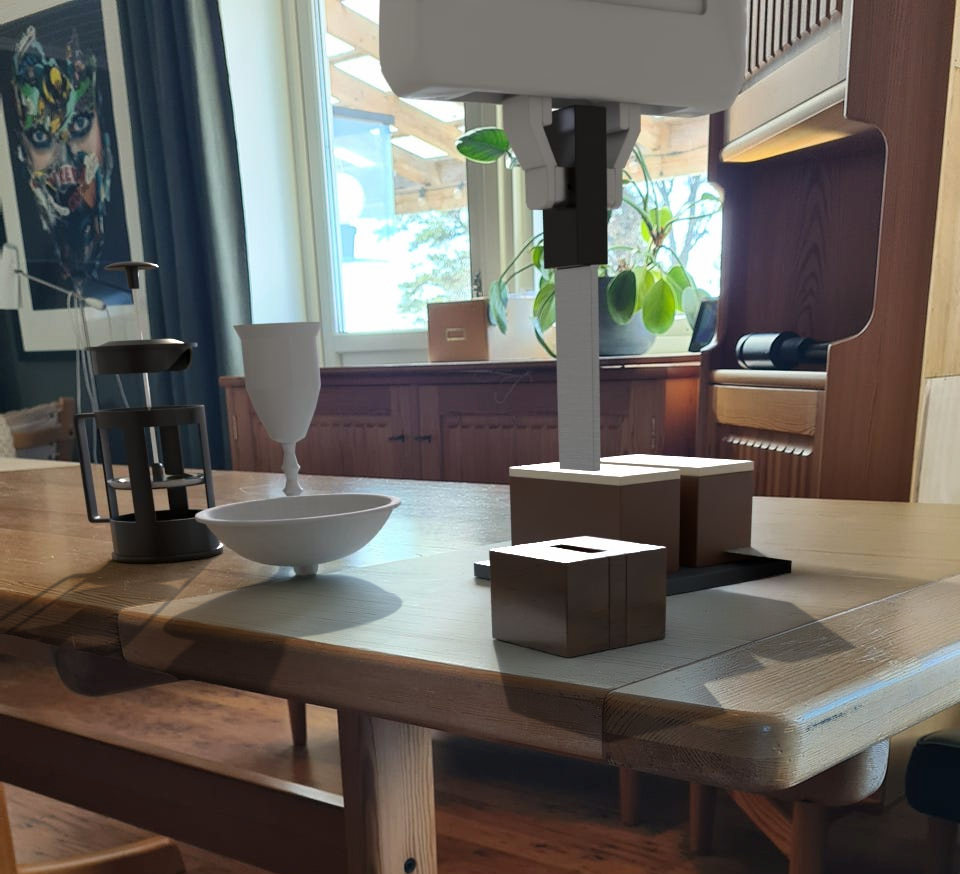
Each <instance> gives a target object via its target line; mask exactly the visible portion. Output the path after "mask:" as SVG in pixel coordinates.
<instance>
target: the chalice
mask: <svg viewBox="0 0 960 874" xmlns="http://www.w3.org/2000/svg"><path fill="white" fill-rule="evenodd" d="M322 324H323V321H295V322H294V321H293V322H292V321H291V322H290V321H289V322H269V323H267V322H266V323H265V322H264V323H249V324H247V323H246V324H235V325H233V326H232V327H233V329H234V331H235V332H236V334H237V336H238V337H239V339H240V345H241V353H242V354H241V355H242V365H243V374H244V384H245V390H246V392H247V395H248V398H249V400H250V402H251V404H252V406H253V409H254V412H255V414H256V415H257V417H258V419H259V420H260V422H261V424H262V426H263V428H264V429H265V431H266V433H267V434H268V436H269V438H270V439H271V440H273V441H275V442H277V443H280V444H281V447H282V451H283V461H282V462H283V463H282V465H281V467H280V469H281V470H282V472H283V473H284V477H285V479H286V481H285V487H283V489H282V493H284V495H285V497H288V496H301V495H302V493H303V491H304V489H303V488H302V487H301V485H300V483H299V480H298V477H299V471H300V470H301V466H300V464H299V463H298V459H297V456H296V444H297V443H298V442H299V441H301V440H303V439H304V438H306V437H307V434H308V431H309V427H310V425H311V422H312V419H313V417H314V414H315V411H316V408H317V404H318V399H319V397H320V391H321V386H322V383H321V381H322V380H321V370H320V358H319V345H318V336H319V332H320V329H321V327H322Z"/></svg>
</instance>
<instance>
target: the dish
mask: <svg viewBox="0 0 960 874" xmlns="http://www.w3.org/2000/svg"><path fill="white" fill-rule="evenodd" d="M401 505H402V500H401V498H400V497H397V496H395V495H389V494H381V493H364V492H363V493H360V492H359V493H358V492H357V493H356V492H355V493H353V492H352V493H350V492H349V493H348V492H346V493H321V494H320V493H319V494H318V493H317V494H300V496H288V497H287V496H279V497H269V498H268V497H267V498H261V499H253V500H246V501H239V502H233V503H227V504H222V505H216V507H213V508H209V509H208V508H205V509H206V510H203V511H201V512H199V513H197V514H196V515H195V520H196V521H197V522H200V523H203V524H206V525H207V527H208V528H209V529H210V530H211V532H212V533H213V534H214V535H215V536H216V537H217V538H218V539H219V541H220V543H221V544H222V545H224V546H226V547H227V548H228V549H229V550H231V551H232V552H234V553H235V554H237V555H239V556H240V557H242V558H244V559H246V560H250V561H251V562H255V563H259V564H262V565H266V566H267V565H268V566H274V567H275V566H276V567H287V568H288V567H292V569H293V572H294V574H295V575H297V576H309V575H315V574H317V573H318V571H319V565H322V564H326V563H331V562H335V561H337V560H341V559H342V558H343V559H344V558H346V557H348V556H351V555H353V554H355V553H356V552H359V551H360V550H362V549H363V548H364V547H365V546H367V545H368V544H369V543H370V542H371V541H372V540H373V539H374V538H375V537H376V536H377V535H378V534H379V532H380V531H381V530H382V529H383V527H384V526H385V524H386V523H387V521H388V520H389V518H390V517H391V514H392V512H393V510H395V509H397V508H399V507H400V506H401Z"/></svg>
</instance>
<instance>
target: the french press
mask: <svg viewBox="0 0 960 874" xmlns="http://www.w3.org/2000/svg"><path fill="white" fill-rule="evenodd" d="M103 269H104V271H105V270H106V271H125V277H126V282H127V288H128V290H131V293H132V299H133V307H134V308H133V309H134V315H135V323H136V329H137V331H136V333H137V338H138V339H131V340H129V339H128V340H113V341H112V340H111V341H107V342H104V343H102V344H99V345H97V346H85V347H84V351H85V352H90V356H91V361H92V369H93V376H105V375H109V376H110V375H131V374H132V375H133V374H142V377H143V384H144V392H145V393H144V394H145V401H146V406H138V407H137V406H136V407H135V406H134V407H119V408H108V409H107V408H106V409H98V410H93V412H83V413H75V414H74V415H73V416H72V421H73V428H74V435H75V440H76V442H75V443H76V449H77V454H78V462H79V468H80V476H81V482H82V488H83V495H84V501H85V508H86V515H87V520H88V522H89V523H90V524H109V528H110V534H111V541H112V548H113V551H112V552H111V559H112V561H115V562H119V563H124V564H125V563H126V564H164V563H176V562H177V563H178V562H186V561H194V560H199V559H200V560H201V559H205V558H210V557H214V556H217V555H219V554H222V553H223V552H224V544H223V543H221V541H220V540H219V539H218V538H217V537H216V536H215V535H214V534H213V533H212V532H211V530H210V529H209V528H208V527H207V525H206V524H203V523H200V522H197V521H196V520H195V515H196V514H197V513H199V512H201V511H203V510H206V509H209V508H213V507H217V505H216V499H215V491H214V481H213V480H214V479H213V474H212V462H211V455H210V447H209V435H208V429H207V418H206V410H205V405H204V404H182V405H180V404H178V405H155V406H153V405H152V400H151V392H150V391H151V390H150V385H149V384H150V383H149V375H148V374H150V373H151V374H152V373H164V372H166V373H167V372H185V371H187V370H189V369H190V367H191V365H192V363H193V357H194V356H193V355H194V353H193V348H197V347H198V342H183V341H180V340H177V339H174V338H157V339H155V338H153V339H144V338H143V336H144V335H143V329H142V321H141V314H140V313H141V312H140V306H139V299H138V291H137V290H140V289H141V286H140V274H139V273H140V271H146V270H156V269H159V265H158V264H155V263H153V262H148V261H119V262H115V263H110V264H108V265H106V266H104V268H103ZM86 419H94V423H95V428H96V430H97V438H98V445H99V452H100V458H101V465H102V471H103V472H102V473H103V479H104V486H105V493H106V498H107V499H106V501H107V506H108V515H109V516H100V515H99V510H98V504H97V503H98V502H97V497H96V489H95V484H94V483H95V481H94V476H93V469H92V462H91V455H90V449H89V443H88V442H89V441H88V435H87V428H86V421H85V420H86ZM196 424H197V429H198V437H199V446H200V454H201V464H202V471H203V472H185V465H184V457H183V456H184V455H183V448H182V440H181V439H182V438H181V432H180V426H185V425H187V426H188V425H196ZM146 428H149V432H150V439H151V446H152V455H153V463H152V464H151V469H150V460H149V453H148V446H147V439H146V431H145V429H146ZM155 428H158V430H159V437H160V444H161V445H160V446H161V453H162V462H163V464H162V463H161V462H159V454H158V446H157V439H156V432H155V431H156V430H155ZM108 429H122V433H123V439H124V447H125V448H124V449H125V453H126V462H127V468H128V475H127V476H121V477H116V478H115V476H114V470H113V469H114V468H113V462H112V456H111V448H110V441H109V433H108ZM202 485H204V490H205V498H206V499H205V500H206V507H207V508H190V507H189V506H190V505H189V499H188V498H189V497H188V489H187V488H188V487H196V486H202ZM153 490H166V493H167V500H168V501H167V502H168V509H158V510H157V509H156V508H155V506H156V505H155V500H154V499H155V498H154V492H153ZM117 491H131V499H132V506H133V507H132V508H133V512H129V513H123V514H120V512H119V505H118V497H117Z"/></svg>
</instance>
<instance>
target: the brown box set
mask: <svg viewBox="0 0 960 874" xmlns="http://www.w3.org/2000/svg"><path fill="white" fill-rule="evenodd" d="M754 470H755V461H753V460H740V459H725V458H724V459H723V458H709V457H708V458H707V457H706V458H705V457H688V456H675V455H673V456H671V455H654V454H627V455H618V456H617V455H616V456H608V457H601V470H600V471H595V472H592V471H577V470H563V469H559V461H558V462H549V463H539V464H530V465H521V466H520V465H519V466H510V467H509V468H508V472H509V480H508V481H509V508H510V510H509V511H510V513H509V515H510V542H511V544H510V545H511V546H510V547H513V546H520V545H527V544H534V543H541V542H548V541H554V540H561V539H568V538H575V537H582V536H589V537H596V538H603V539H610V540H618V541H625V542H632V543H639V544H646V545H654V546H661V547H666V548H667V569H666V595H667V596H672V594H673V595H678V594H683V592H684V593H689V592H695V591H700V590H706V589H711V588H717V587H722V586H727V585H733V584H739V583H743V582H744V583H745V582H749V581H754V580H761V579H766V578H771V577H777V576H783V575H788V574H792V568H793V567H792V566H793V560H792V559H791V560H790V559H783V558H777V557H769V556H763V555H762V556H761V555H755V554H746V553H740V552H739V553H738V552H731V551H734V550H741V549H747V548H751V547H752V526H753V525H752V523H753V502H754V501H753V497H754V475H755V474H754ZM473 576H474V577H476V578H480V579H486V580H490V563H489V560H484V561H477V562H474V563H473Z"/></svg>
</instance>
